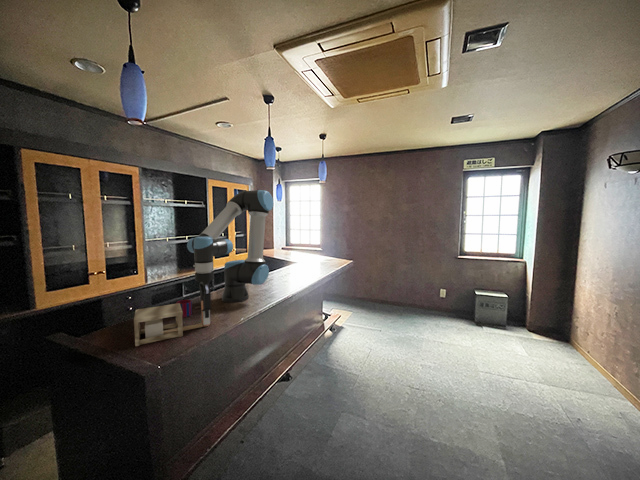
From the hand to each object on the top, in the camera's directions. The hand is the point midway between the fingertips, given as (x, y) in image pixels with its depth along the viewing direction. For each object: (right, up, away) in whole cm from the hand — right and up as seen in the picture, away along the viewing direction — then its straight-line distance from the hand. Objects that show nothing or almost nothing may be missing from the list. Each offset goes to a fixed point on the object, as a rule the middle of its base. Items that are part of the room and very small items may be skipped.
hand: (206, 322), depth 115 cm
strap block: (-9, -2, -6) cm, 10 cm away
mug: (-17, -1, +10) cm, 20 cm away
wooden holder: (-15, -2, -10) cm, 18 cm away
